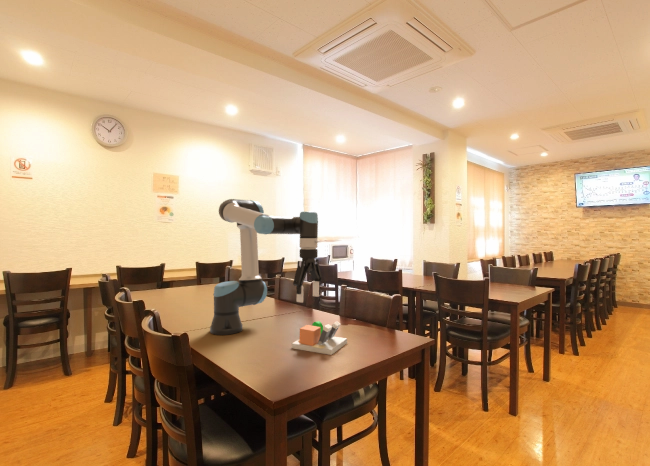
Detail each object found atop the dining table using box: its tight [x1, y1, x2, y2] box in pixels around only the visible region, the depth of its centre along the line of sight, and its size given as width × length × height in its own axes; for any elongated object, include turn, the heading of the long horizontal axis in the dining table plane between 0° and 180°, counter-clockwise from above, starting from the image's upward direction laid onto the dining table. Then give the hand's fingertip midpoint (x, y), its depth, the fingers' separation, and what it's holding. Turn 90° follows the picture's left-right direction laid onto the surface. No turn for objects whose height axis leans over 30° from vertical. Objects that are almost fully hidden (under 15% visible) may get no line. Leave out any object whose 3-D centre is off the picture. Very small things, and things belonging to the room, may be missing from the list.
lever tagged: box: [318, 323, 332, 345], centre depth 138 cm, size 2×4×8 cm, turn 154°
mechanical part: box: [311, 320, 324, 336], centre depth 156 cm, size 12×6×8 cm, turn 43°
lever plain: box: [327, 320, 341, 340], centre depth 144 cm, size 2×4×8 cm, turn 154°
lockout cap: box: [298, 324, 321, 346], centre depth 141 cm, size 6×6×6 cm
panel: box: [291, 336, 348, 356], centre depth 143 cm, size 18×17×2 cm
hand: (308, 299), depth 143 cm, fingers open, 13 cm apart
